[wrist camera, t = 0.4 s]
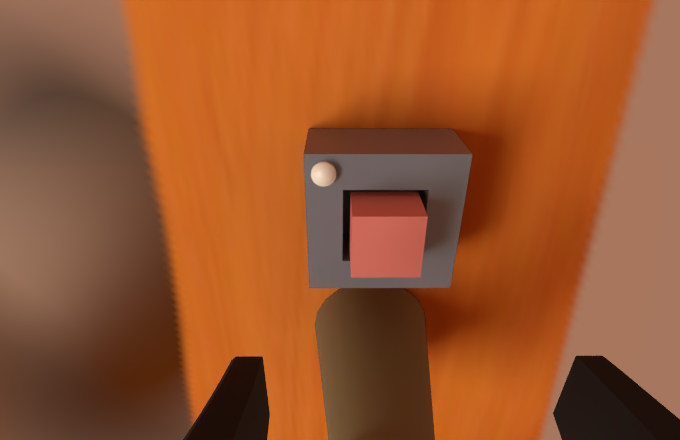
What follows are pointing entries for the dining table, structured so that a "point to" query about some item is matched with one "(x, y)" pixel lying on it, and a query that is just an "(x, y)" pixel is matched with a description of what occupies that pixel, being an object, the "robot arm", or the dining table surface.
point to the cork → (374, 365)
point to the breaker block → (383, 176)
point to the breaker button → (386, 234)
